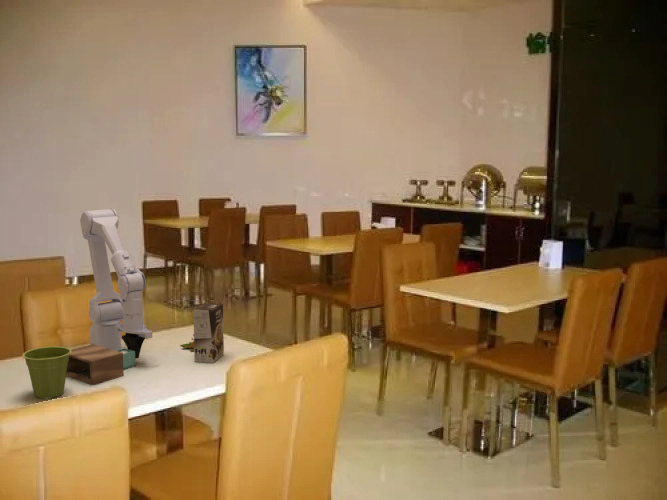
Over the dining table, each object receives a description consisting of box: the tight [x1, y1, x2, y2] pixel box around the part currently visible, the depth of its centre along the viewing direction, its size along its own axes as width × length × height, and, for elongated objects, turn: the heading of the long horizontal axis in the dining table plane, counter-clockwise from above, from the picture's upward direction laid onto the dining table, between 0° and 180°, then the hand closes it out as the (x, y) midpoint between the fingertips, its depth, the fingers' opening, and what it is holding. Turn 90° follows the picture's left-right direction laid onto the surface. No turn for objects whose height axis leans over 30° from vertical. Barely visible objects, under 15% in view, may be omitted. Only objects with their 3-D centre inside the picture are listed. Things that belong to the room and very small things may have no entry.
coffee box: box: [193, 302, 225, 364], centre depth 222 cm, size 9×6×16 cm
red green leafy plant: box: [181, 333, 194, 353], centre depth 235 cm, size 12×12×5 cm
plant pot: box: [22, 346, 72, 399], centre depth 191 cm, size 12×12×11 cm
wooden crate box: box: [66, 343, 125, 386], centre depth 207 cm, size 14×10×7 cm
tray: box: [116, 347, 137, 370], centre depth 213 cm, size 5×10×4 cm, turn 143°
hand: (134, 358), depth 218 cm, fingers closed, pressing on tray
